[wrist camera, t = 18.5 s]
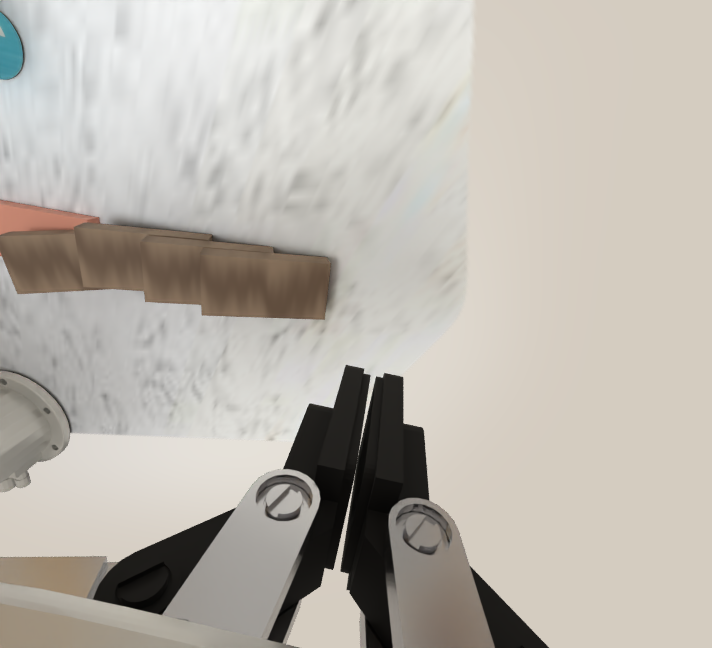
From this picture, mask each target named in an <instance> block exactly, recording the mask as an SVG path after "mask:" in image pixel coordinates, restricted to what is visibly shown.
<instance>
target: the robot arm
mask: <svg viewBox="0 0 712 648" xmlns="http://www.w3.org/2000/svg"><path fill="white" fill-rule="evenodd" d="M363 373H364V369H363V368H358V367H353V366H348V365H346V367H345V370H344V374H343V377H342V381H341V384H340V387H339V391H338V394H337V398H336V401H335V405H334V408H329V407H324V406H320V405H315V404H309V406H308V408H307V410H306V413H305V415H304V418H303V420H302V423H301V425H300V428H299V430H298V433H297V435H296V438H295V441H294V443H293V446H292V448H291V451H290V453H289V456H288V458H287V461H286V463H285V466H284V468H283V469H278V470H274V471H271V472H268V473H266V474H264V475H263V476H261V477H259V478H258V479H257V480H256V481H255V482H254V483H253V484H252V486H251V487H250V489H249V490H248V491H247V493H246V494H245V496H244V497H243V499H242V500H241V502H240V503H239V504H238V506H237V507H236V508H234V509H232V510H230V511H228V512H225V513H223V514H221V515H218V516H216V517H214V518H212V519H210V520H207V521H205V522H203V523H200V524H198V525H196V526H194V527H191V528H189V529H187V530H184V531H182V532H180V533H178V534H176V535H173V536H171V537H169V538H166V539H164V540H162V541H160V542H157V543H155V544H153V545H151V546H148V547H146V548H144V549H141V550H139V551H137V552H135V553H133V554H131V555H130V556H128V557H126V558H125V559H123V560H121V561H120V562H107V558H106V556H100V557H99V556H93V557H92V556H90V557H0V648H298V647H294V646H290V645H286V643H287V640H288V637H289V635H290V632H291V629H292V627H293V624H294V622H295V619H296V616H297V614H298V611H299V608H300V605H301V600H302V598H304V597H305V596H307V595H308V594H310V593H311V592H313V591H314V590H316V589H317V588H318V587H320V586H321V581H322V577H323V572H324V568H327V569H332V570H333V568H334V564H335V560H336V555H337V551H338V547H339V542H340V538H341V534H342V529H343V525H344V520H345V516H346V512H347V507H348V502H349V498H350V494H351V490H352V485H353V481H354V486H353V493H352V499H351V506H350V512H349V518H348V525H347V531H346V538H345V544H344V551H343V557H342V564H341V572H345V573H349V576H348V584H347V590H350V594H351V596H352V597H353V599H354V600H355V602H356V603H357V605H358V606H359V608H360V609H361V613H360V646H361V648H549V647H548V646H547V645H546V644H545V643H544V642H543V641H542V640H541V639H540V638H539V637H538V636H537V635H536V634H535V633H534V632H533V631H532V630H531V629H530V628H529V627H528V626H527V625H526V623H525V622H524V621H523V620H522V619H521V618H520V617H519V616H518V615H517V614H516V613H515V612H514V611H513V610H512V609H511V608H510V607H509V606H508V605H507V604H506V603H505V602H504V601H503V600H502V599H501V598H500V597H499V596H498V594H497V593H496V592H495V591H494V590H493V589H492V588H491V587H490V586H489V585H488V584H487V583H486V582H485V581H484V580H483V579H482V578H481V577H480V576H479V575H478V574H477V573H476V572H475V571H474V570H473V569H472V568H471V567H470V565H469V562H468V559H467V556H466V553H465V549H464V547H463V543H462V540H461V537H460V533H459V531H458V528H457V526H456V524H455V522H454V520H453V519H452V518H451V517H450V516H449V514H448V513H447V512H446V511H445V510H443V509H442V508H441V507H440V506H438V505H437V504H434V503H433V502H431V501H429V491H428V478H427V465H426V453H425V440H424V430H423V428H422V427H417V426H413V425H408V424H403V377H401V376H396V375H391V374H386V373H384V376H383V378H381V377H377V376H376V379H375V384H374V388H373V392H372V397H371V401H370V406H369V410H368V415H367V419H366V423H365V428H364V433H363V437H362V441H361V445H360V439H361V433H362V427H363V420H364V414H365V408H366V401H367V395H368V388H369V382H370V375H367V374H363ZM69 439H70V429H69V423H68V421H67V418H66V416H65V414H64V412H63V410H62V409H61V407H60V405H59V404H58V403H57V402H56V400H55V399H54V398H53V397H52V396H51V395H50V394H49V393H48V392H47V391H46V390H44V389H43V388H42V387H40V386H39V385H38V384H36V383H35V382H33V381H31V380H29V379H28V378H26V377H23V376H21V375H18V374H15V373H11V372H8V371H0V492H6V491H9V490H11V489H13V488H14V487H15V486H16V487H18V488H23V487H26V486H27V485H29V484H30V483H31V480H30V477H29V473H28V472H27V470H28V469H29V468H30V467H31V466H32V465H34V464H35V463H36V462H41V461H47V460H50V459H52V458H54V457H56V456H57V455H59V454H60V453H61V452H62V451H63V450H64V449H65V448H66V446H67V445H68V442H69ZM359 446H360V450H359ZM358 453H359V455H358ZM357 459H358V460H357ZM356 465H357V467H356ZM355 471H356V473H355ZM354 476H355V480H354Z"/></svg>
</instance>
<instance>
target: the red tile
mask: <svg viewBox="0 0 712 648" xmlns="http://www.w3.org/2000/svg"><path fill="white" fill-rule="evenodd" d="M85 222H88V223H99V224H100V221H99V218H98V217H92V216H87V215H81V214H76V213H70V212H65V211H59V210H53V209H48V208H42V207H37V206H31V205H25V204H20V203H14V202H9V201H3V200H0V235H1V234H4V233H7V232H13V231H44V230H74V227H75V226H77V225H80V224H82V223H85ZM0 256H2V255H1V253H0Z"/></svg>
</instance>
